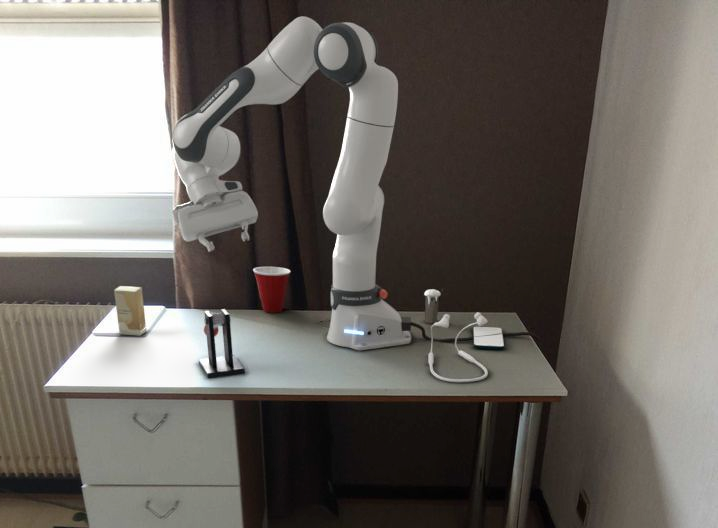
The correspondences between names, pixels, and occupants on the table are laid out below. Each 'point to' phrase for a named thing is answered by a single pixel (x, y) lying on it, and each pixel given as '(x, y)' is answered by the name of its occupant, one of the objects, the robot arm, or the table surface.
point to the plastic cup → (272, 287)
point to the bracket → (229, 361)
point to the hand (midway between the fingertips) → (229, 244)
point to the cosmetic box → (130, 310)
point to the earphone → (445, 323)
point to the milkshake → (431, 305)
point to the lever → (216, 323)
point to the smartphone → (488, 338)
